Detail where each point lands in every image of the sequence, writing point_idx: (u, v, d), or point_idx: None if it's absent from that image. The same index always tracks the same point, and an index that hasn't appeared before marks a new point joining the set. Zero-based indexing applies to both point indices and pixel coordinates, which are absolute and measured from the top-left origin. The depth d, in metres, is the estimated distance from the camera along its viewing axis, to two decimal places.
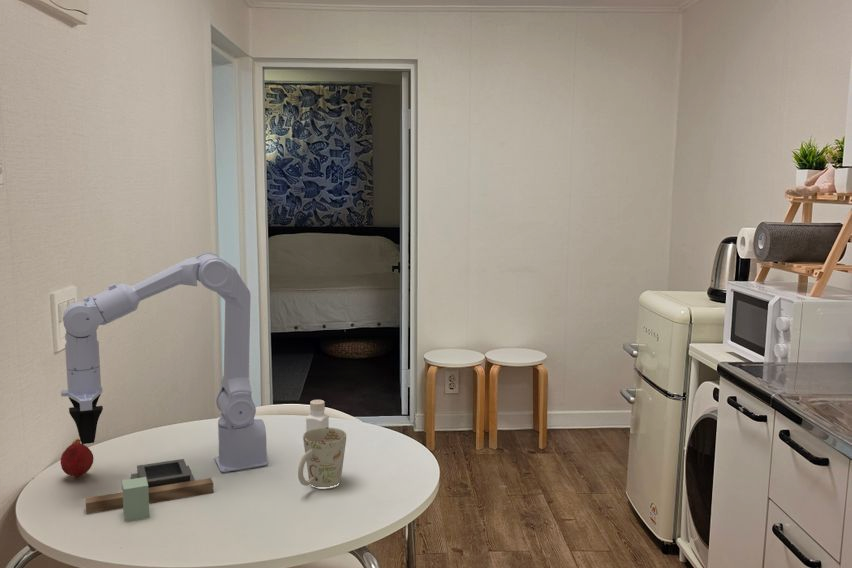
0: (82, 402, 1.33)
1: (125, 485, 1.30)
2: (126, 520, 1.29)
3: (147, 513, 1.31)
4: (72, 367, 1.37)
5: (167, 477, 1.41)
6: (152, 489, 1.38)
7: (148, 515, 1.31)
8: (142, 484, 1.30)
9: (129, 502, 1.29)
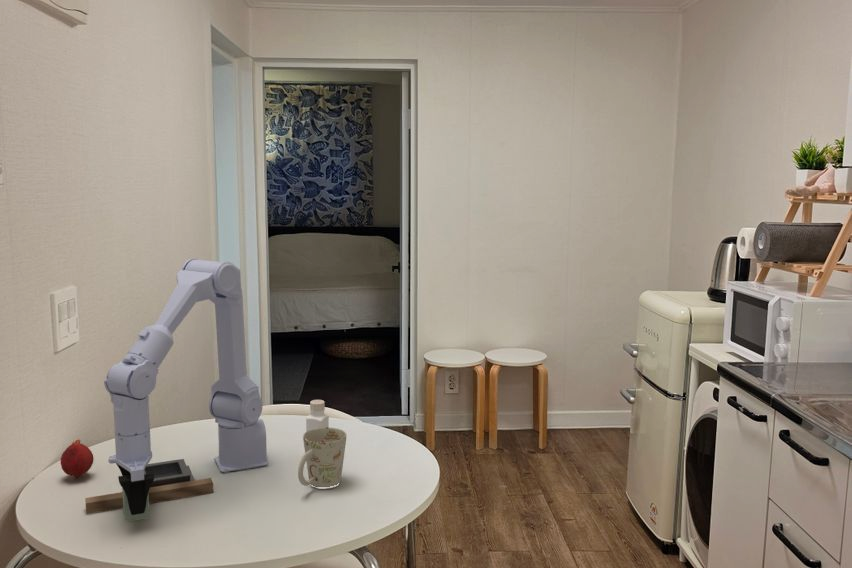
0: (133, 472, 1.24)
1: None
2: (126, 520, 1.29)
3: (147, 513, 1.31)
4: (132, 432, 1.27)
5: (167, 477, 1.41)
6: (152, 489, 1.38)
7: (148, 515, 1.31)
8: None
9: None
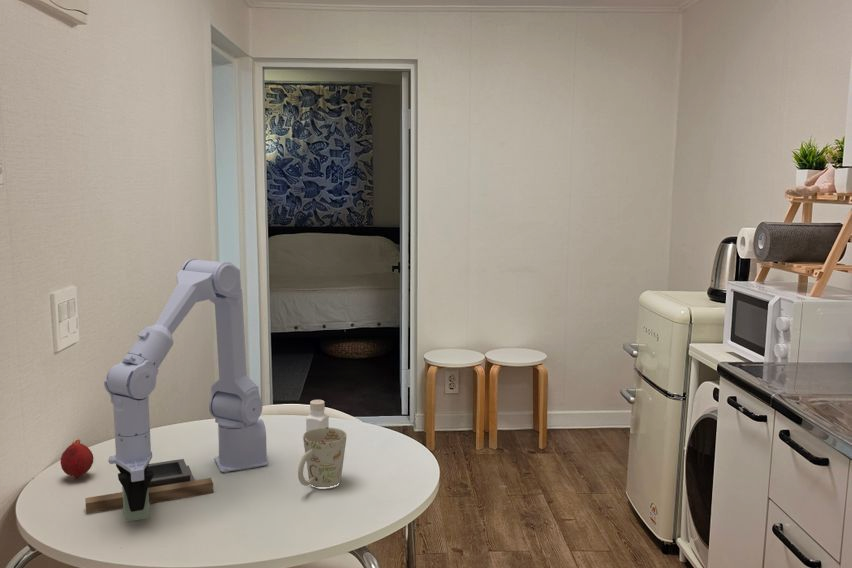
0: (133, 472, 1.24)
1: None
2: (126, 520, 1.29)
3: (147, 513, 1.31)
4: (132, 433, 1.27)
5: (167, 477, 1.41)
6: (152, 489, 1.38)
7: (148, 515, 1.31)
8: None
9: None
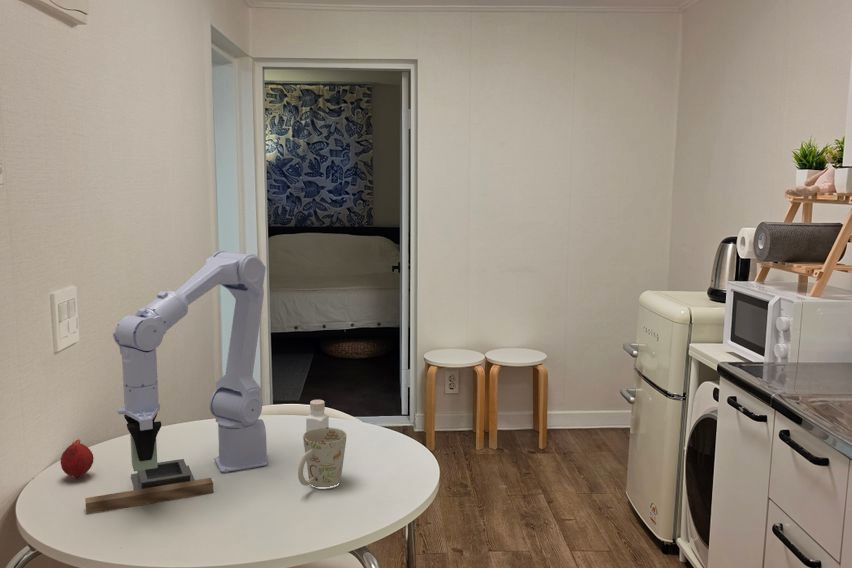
0: (142, 421, 1.27)
1: None
2: (135, 469, 1.32)
3: (155, 463, 1.34)
4: (139, 384, 1.30)
5: (167, 477, 1.41)
6: (152, 489, 1.38)
7: (156, 465, 1.34)
8: None
9: None
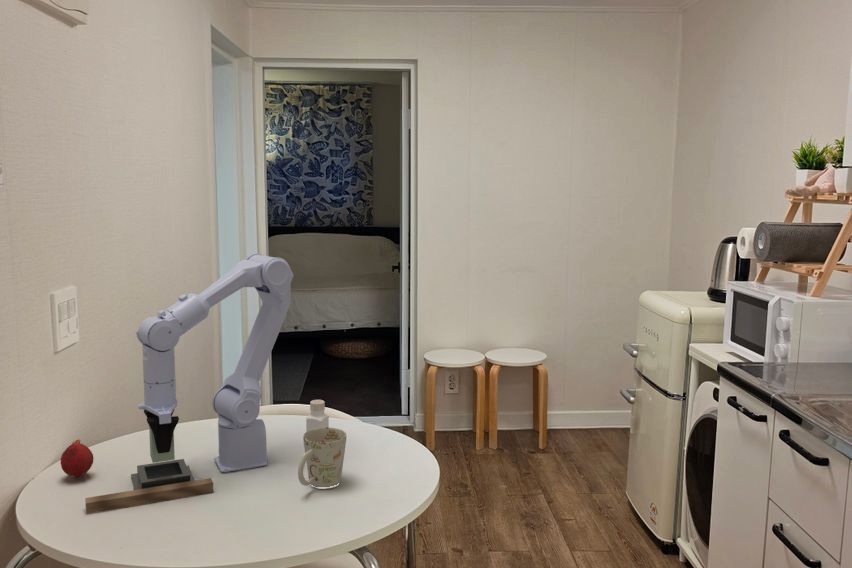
0: (162, 415, 1.36)
1: None
2: (153, 461, 1.42)
3: (172, 455, 1.43)
4: (154, 381, 1.39)
5: (167, 477, 1.41)
6: (152, 489, 1.38)
7: (173, 457, 1.43)
8: None
9: None
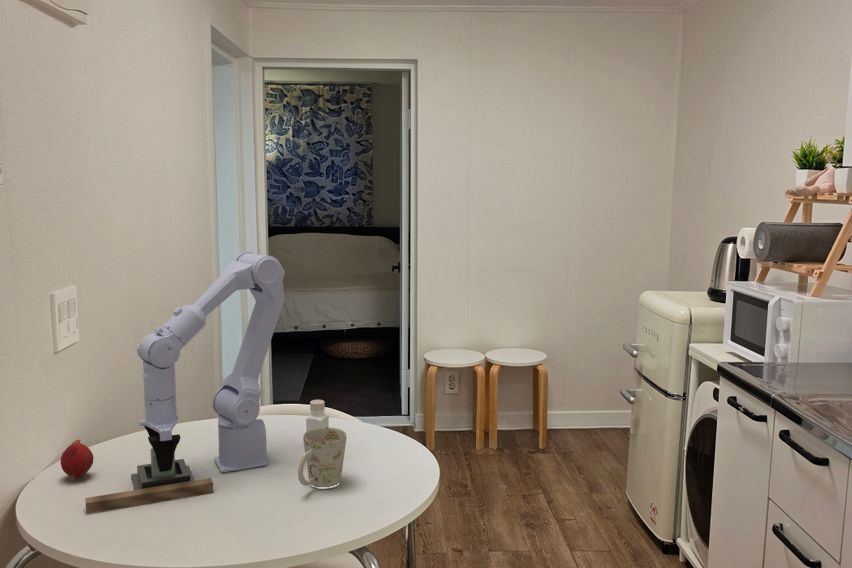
0: (162, 432, 1.36)
1: (153, 452, 1.43)
2: None
3: None
4: (155, 397, 1.40)
5: (167, 477, 1.41)
6: (152, 489, 1.38)
7: None
8: None
9: (157, 467, 1.42)
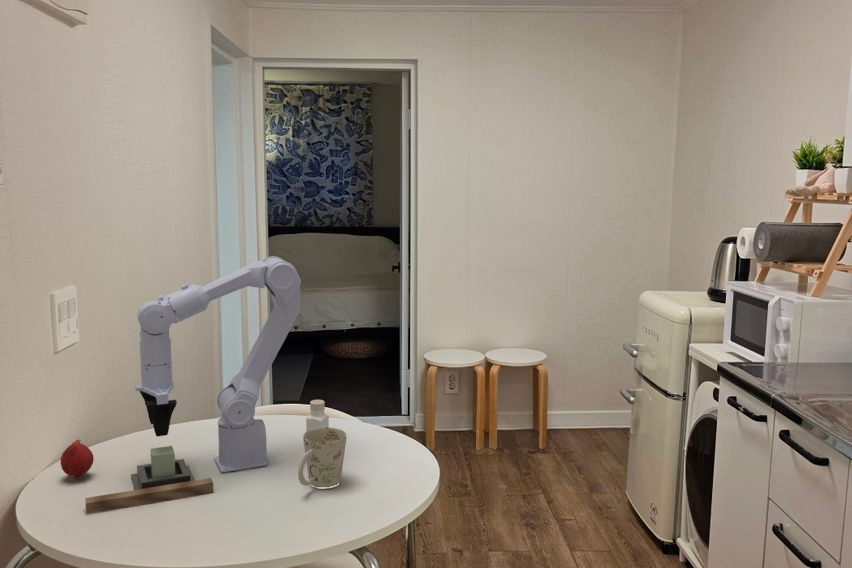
0: (159, 396, 1.40)
1: (153, 452, 1.43)
2: None
3: None
4: (146, 363, 1.43)
5: (167, 477, 1.41)
6: (152, 489, 1.38)
7: None
8: (169, 451, 1.44)
9: (157, 467, 1.42)
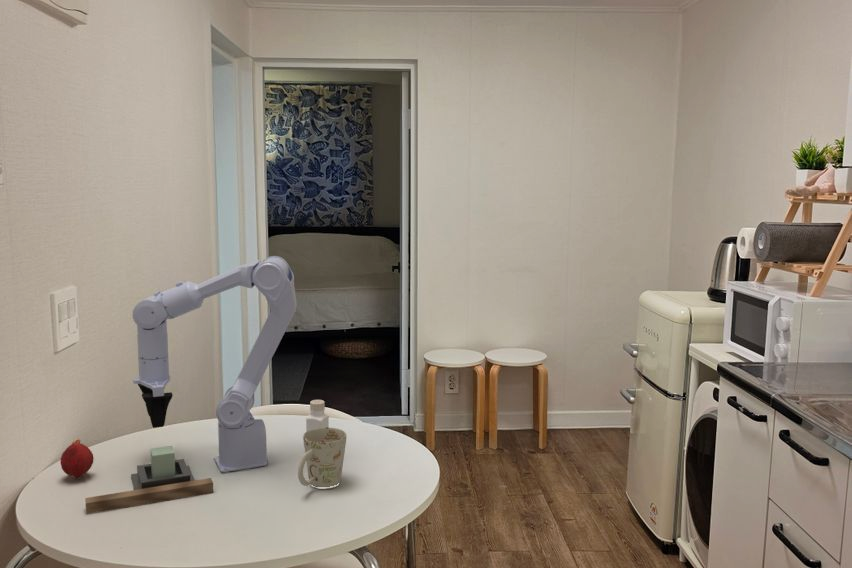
0: (155, 388, 1.44)
1: (153, 452, 1.43)
2: None
3: None
4: (140, 356, 1.48)
5: (167, 477, 1.41)
6: (152, 489, 1.38)
7: None
8: (169, 451, 1.44)
9: (157, 467, 1.42)
